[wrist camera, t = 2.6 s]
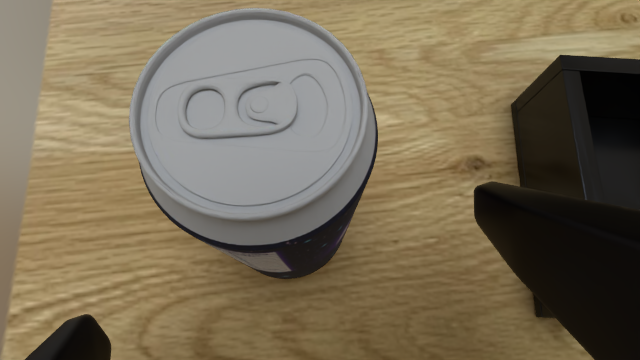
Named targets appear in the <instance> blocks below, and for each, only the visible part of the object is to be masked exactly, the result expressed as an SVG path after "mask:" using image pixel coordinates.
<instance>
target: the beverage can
mask: <svg viewBox="0 0 640 360" xmlns="http://www.w3.org/2000/svg"><path fill="white" fill-rule="evenodd" d="M129 126H130V134H131V140H132V144H133V147H134V150H135V153H136V156H137V158H138V160H139V164H140V169H141V173H142V176H143V179H144V182H145V184H146V187H147V189H148V191H149V193H150V195H151V197H152V198H153V200H154V201H155V203H156V204H157V206H158V207H159V208H160V209H161V211H162V212H163V213H164V214H165V215H166V216H167V217H168V218H169V219H170V220H171V221H172V222H173V223H174V224H176V225H177V226H178V227H180V228H181V229H182V230H184V231H185V232H187V233H189V234H190V235H192V236H194V237H196V238H197V239H199V240H201V241H203V242H205V243H207V244H208V245H210V246H212V247H214V248H216V249H218V250H220V251H221V252H223V253H225V254H227V255H229V256H231V257H232V258H234V259H236V260H238V261H240V262H242V263H243V264H245V265H247V266H249V267H251V268H253V269H255V270H256V271H258V272H260V273H262V274H265V275H267V276H270V277H275V278H281V279H291V278H298V277H302V276H305V275H308V274H311V273H313V272H315V271H316V270H318V269H320V268H321V267H322V266H324V265H325V264H326V263H327V262H328V261H329V260H330V259H331V258H332V257H333V255H334V254H335V253H336V251H337V250H338V248H339V246H340V244H341V242H342V239H343V237H344V235H345V232H346V230H347V228H348V225H349V223H350V221H351V219H352V216H353V214H354V212H355V209H356V207H357V205H358V202H359V200H360V198H361V195H362V193H363V191H364V188H365V186H366V184H367V182H368V179H369V177H370V175H371V172H372V169H373V166H374V162H375V158H376V153H377V144H378V129H377V121H376V115H375V112H374V108H373V105H372V102H371V100H370V97H369V95H368V93H367V89H366V85H365V82H364V79H363V76H362V74H361V71H360V69H359V67H358V65H357V63H356V62H355V60H354V58H353V56H352V55H351V54H350V52H349V51H348V50H347V49H346V47H345V46H344V45H343V44H342V43H341V42H340V41H339V40H338V39H337V38H336V37H335V36H334V35H332V34H331V33H330V32H329V31H327V30H326V29H324V28H323V27H321V26H320V25H318V24H316V23H314V22H312V21H310V20H308V19H306V18H304V17H301V16H298V15H295V14H292V13H289V12H285V11H279V10H274V9H263V8H247V9H235V10H230V11H226V12H221V13H217V14H214V15H211V16H208V17H205V18H203V19H201V20H199V21H197V22H194V23H192V24H190V25H188V26H187V27H185V28H184V29H182V30H181V31H179V32H178V33H176V34H175V35H173V36H172V37H171V38H170V39H169V40H167V41H166V42H165V43H164V44H163V45H162V46H161V47H160V48H159V49H158V50H157V51H156V52H155V54H154V55H153V56H152V57H151V58H150V59H149V61H148V63H147V64H146V66H145V67H144V69H143V71H142V72H141V74H140V76H139V78H138V81H137V83H136V86H135V88H134V91H133V95H132V99H131V104H130V115H129Z"/></svg>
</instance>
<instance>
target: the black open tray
mask: <svg viewBox="0 0 640 360" xmlns="http://www.w3.org/2000/svg"><path fill="white" fill-rule="evenodd" d="M511 106H512V114H513V123H514V132H515V140H516V149H517V157H518V166H519V174H520V183H521V187H524V188H529V189H534V190H539V191H544V192H549V193H555V194H560V195H565V196H570V197H575V198H580V199H586V200H591V201H596V202H601V203H606V204H611V205H617V206H622V207H627V208H632V209H637V210H640V60H638V59H621V58H604V57H587V56H570V55H560V56H559V57H558V58H557V59H556V60H555V61H554V62H553V63H552V64H551V65H550V66H549V67H548V68H547V69H546V70H545V71H544V72H543V73H542V74H541V75H540V76H539V77H538V78H537V79H536V80H535V81H534V82H533V83H532V84H531V85H530V86H529V87H528V88H527V89H526V90H525V91H524V92H523V93H522V94H521V95H520V96H519V97H518V98H517V99H516V100H515V101H514V102H513V103H512V105H511ZM534 302H535V310H536V317H542V318H556V317H555V316H554V315H553V314H552V313H551V312H550V311H549V310H548V309H547V308H546V307H545V306H544V305H543V303H542V302H541V301H540V300H539V299H538V298H537V297H536V296H535V295H534Z"/></svg>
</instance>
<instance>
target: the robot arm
mask: <svg viewBox="0 0 640 360" xmlns="http://www.w3.org/2000/svg"><path fill="white" fill-rule="evenodd" d="M474 215H475V219H476V222H477V224H478V225H479V227H480V228H481V229H482V231H483V232H484V233H485V235H486V236H487V237H488V239H489V240H490V241H491V243H492V244H493V245H494V247H495V248H496V249H497V251H498V252H499V253H500V255H501V256H502V257H503V259H504V260H505V261H506V263H507V264H508V265H509V267H510V268H511V269H512V270H513V272H514V273H515V274H516V275H517V276H518V277H519V279H520V280H521V281H522V282H523V283H524V284H525V285H526V286H527V287H528V288H529V289H530V291H531V292H532V293H533V294H534V295H535V296H536V297H537V298H538V299H539V300H540V301H541V302H542V303H543V305H544V306H545V307H546V308H547V309H548V310H549V311H550V312H551V313H552V314H553V315H554V316H555V317H556V319H557V320H558V321H559V322H560V323H561V324H562V325H563V326H564V327H565V328H566V329H567V330H568V331H569V332H570V334H571V335H572V336H573V337H574V338H575V339H576V340H577V341H578V342H579V343H580V344H581V345H582V346H583V348H584V349H585V350H586V351H587V352H588V353H589V354H590V355H591V356H592V357H593V358H594V359H595V360H640V210H637V209H632V208H627V207H622V206H617V205H611V204H606V203H601V202H596V201H591V200H586V199H580V198H575V197H570V196H565V195H560V194H555V193H549V192H544V191H539V190H534V189H529V188H524V187H518V186H513V185H508V184H503V183H498V182H488V183H485V184H482V185H479V186H477V187H476V188H475V190H474ZM110 357H111V343H110V340H109V338H108V337H107V335H106V334H105V332H104V331H103V330H102V328H101V327H100V326H99V324H98V323H97V321H96V320H95V319H94V318H93V317H92V316H91V315H89V314H84V315H81V316H78V317H75V318H72V319H69V320H67V321H66V322H64V323H63V324H62V325H61V326H60V327H59V328H58V329H57V330H56V331H55V332H54V333H53V334H52V335H51V336H49V337H48V338H47V339H46V340H45V341H44V342H43V343H42V344H41V345H40V346H39V347H38V348H37V349H36V350H34V351H33V352H32V353H31V354H30V355H29V356H28V357H27V358H26V359H25V360H110Z"/></svg>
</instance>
